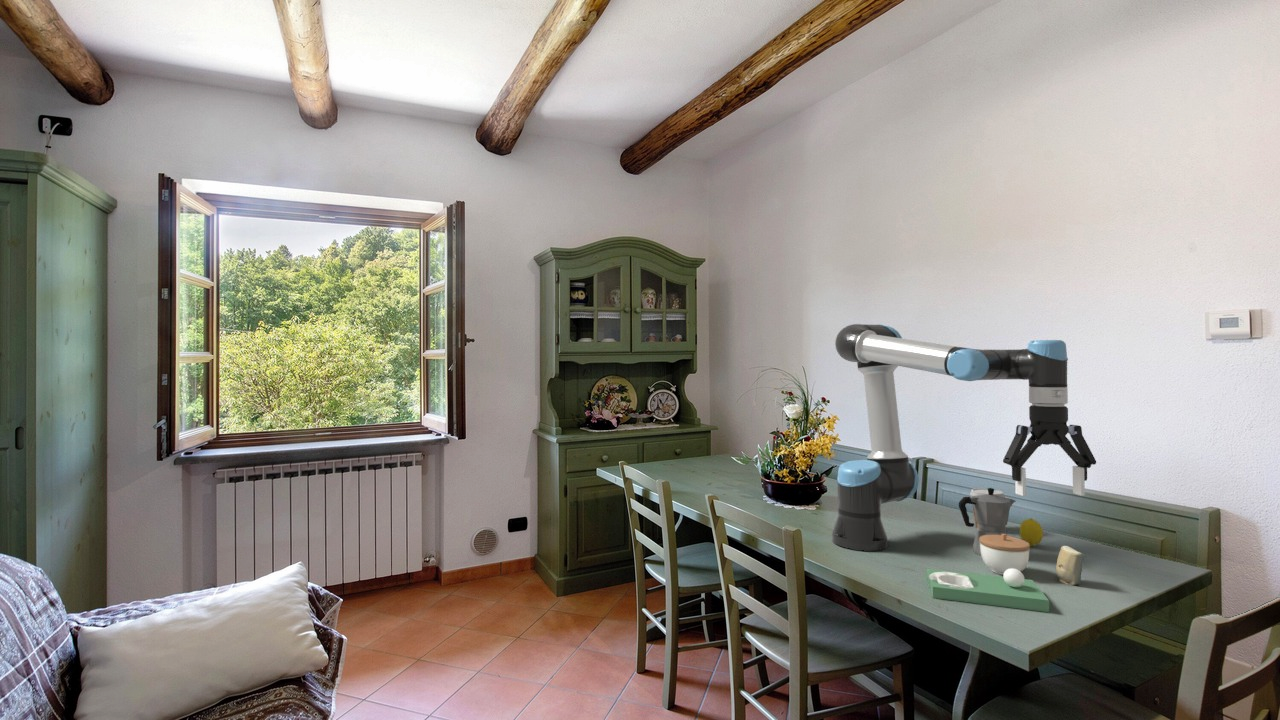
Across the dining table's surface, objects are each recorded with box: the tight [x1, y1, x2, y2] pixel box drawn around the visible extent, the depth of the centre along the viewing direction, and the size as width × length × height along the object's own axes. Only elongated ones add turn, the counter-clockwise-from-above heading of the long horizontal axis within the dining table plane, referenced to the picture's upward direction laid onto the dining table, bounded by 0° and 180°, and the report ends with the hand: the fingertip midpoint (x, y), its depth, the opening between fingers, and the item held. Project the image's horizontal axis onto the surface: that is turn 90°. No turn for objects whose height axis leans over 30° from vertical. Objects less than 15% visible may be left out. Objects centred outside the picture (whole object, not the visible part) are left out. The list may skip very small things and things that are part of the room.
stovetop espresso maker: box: [969, 487, 1006, 529], centre depth 181 cm, size 10×10×12 cm
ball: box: [1002, 568, 1026, 587], centre depth 128 cm, size 4×4×4 cm
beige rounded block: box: [1055, 545, 1085, 587], centre depth 137 cm, size 6×5×8 cm
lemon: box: [1019, 517, 1044, 547], centre depth 164 cm, size 6×6×8 cm
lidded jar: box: [979, 534, 1031, 576], centre depth 144 cm, size 11×11×9 cm
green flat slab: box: [925, 568, 1050, 613], centre depth 130 cm, size 22×12×2 cm, turn 70°
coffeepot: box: [958, 487, 1016, 556], centre depth 158 cm, size 15×9×18 cm, turn 90°
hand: (1049, 494), depth 136 cm, fingers open, 13 cm apart
